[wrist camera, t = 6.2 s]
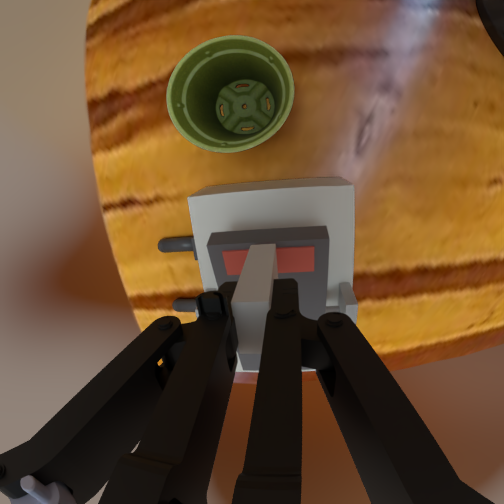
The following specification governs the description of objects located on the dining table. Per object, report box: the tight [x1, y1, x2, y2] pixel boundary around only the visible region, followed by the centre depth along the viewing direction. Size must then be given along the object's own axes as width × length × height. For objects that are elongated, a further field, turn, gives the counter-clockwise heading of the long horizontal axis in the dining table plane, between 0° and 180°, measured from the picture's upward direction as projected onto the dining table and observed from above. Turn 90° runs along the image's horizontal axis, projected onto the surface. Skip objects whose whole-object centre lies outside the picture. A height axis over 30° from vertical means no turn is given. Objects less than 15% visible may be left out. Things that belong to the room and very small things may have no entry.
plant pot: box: [167, 35, 294, 153], centre depth 21 cm, size 9×9×9 cm
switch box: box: [158, 177, 358, 372], centre depth 27 cm, size 21×20×10 cm
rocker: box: [206, 226, 340, 371], centre depth 23 cm, size 11×16×2 cm, turn 6°
